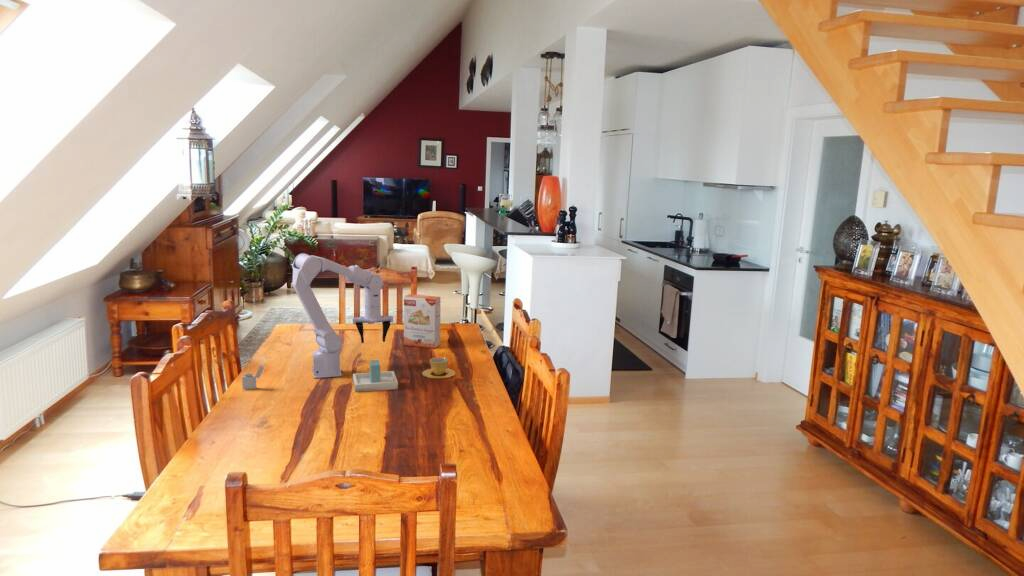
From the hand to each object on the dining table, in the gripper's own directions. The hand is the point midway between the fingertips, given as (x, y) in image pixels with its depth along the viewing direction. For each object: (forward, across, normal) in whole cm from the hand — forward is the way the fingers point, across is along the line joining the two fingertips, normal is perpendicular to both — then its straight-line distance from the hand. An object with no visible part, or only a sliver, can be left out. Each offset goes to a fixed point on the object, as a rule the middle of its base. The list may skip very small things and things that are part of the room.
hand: (373, 341), depth 257 cm
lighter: (+10, -41, -16) cm, 45 cm away
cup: (+10, +22, -14) cm, 28 cm away
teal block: (+8, -2, -22) cm, 23 cm away
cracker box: (+10, +22, +24) cm, 34 cm away
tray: (+9, -2, -21) cm, 23 cm away
